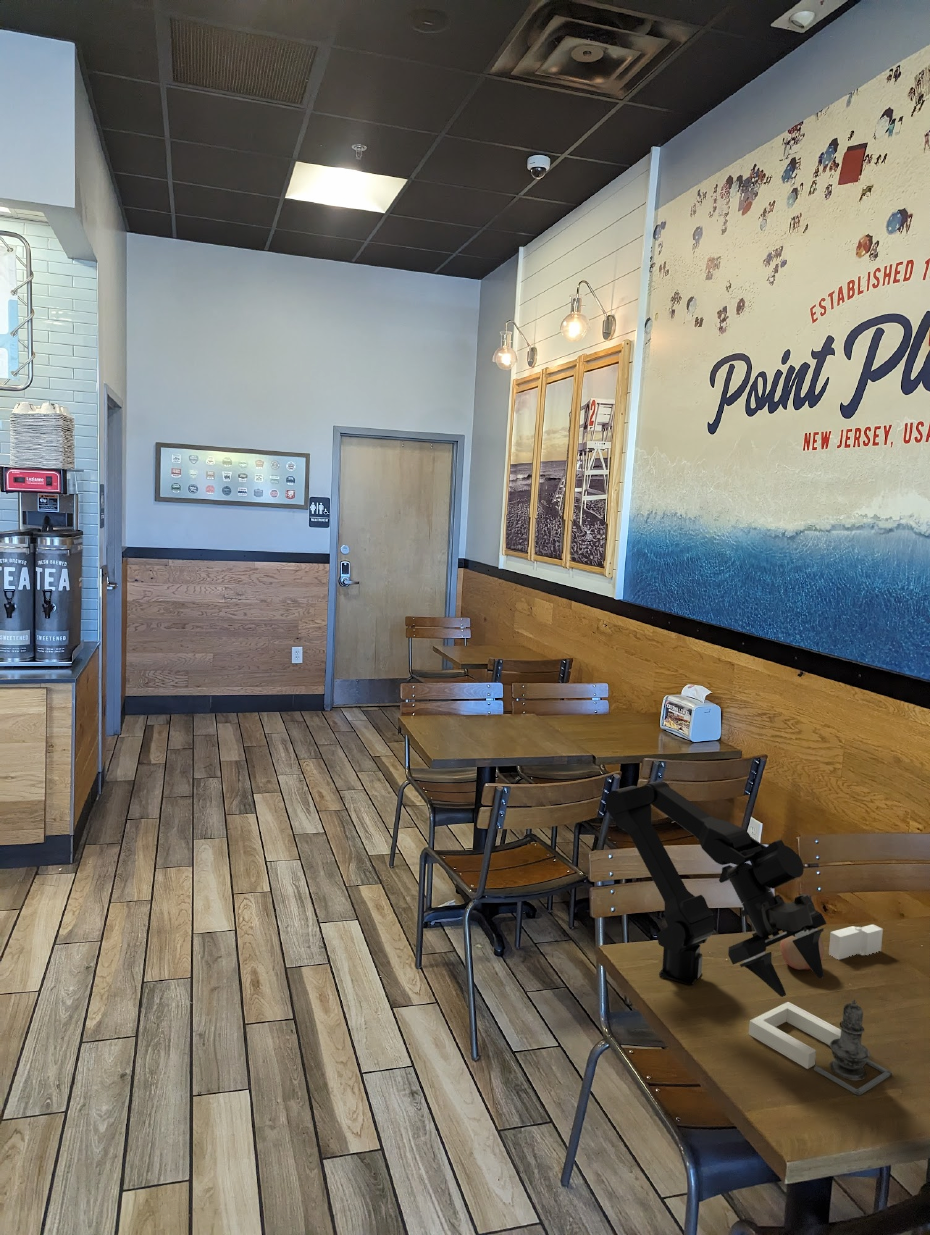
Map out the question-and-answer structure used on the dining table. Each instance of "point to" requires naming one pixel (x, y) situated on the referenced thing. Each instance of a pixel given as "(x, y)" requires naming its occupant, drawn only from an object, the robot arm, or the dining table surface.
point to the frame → (864, 1088)
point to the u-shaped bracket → (785, 1043)
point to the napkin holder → (855, 941)
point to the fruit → (796, 953)
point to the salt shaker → (850, 1045)
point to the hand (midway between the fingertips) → (802, 986)
